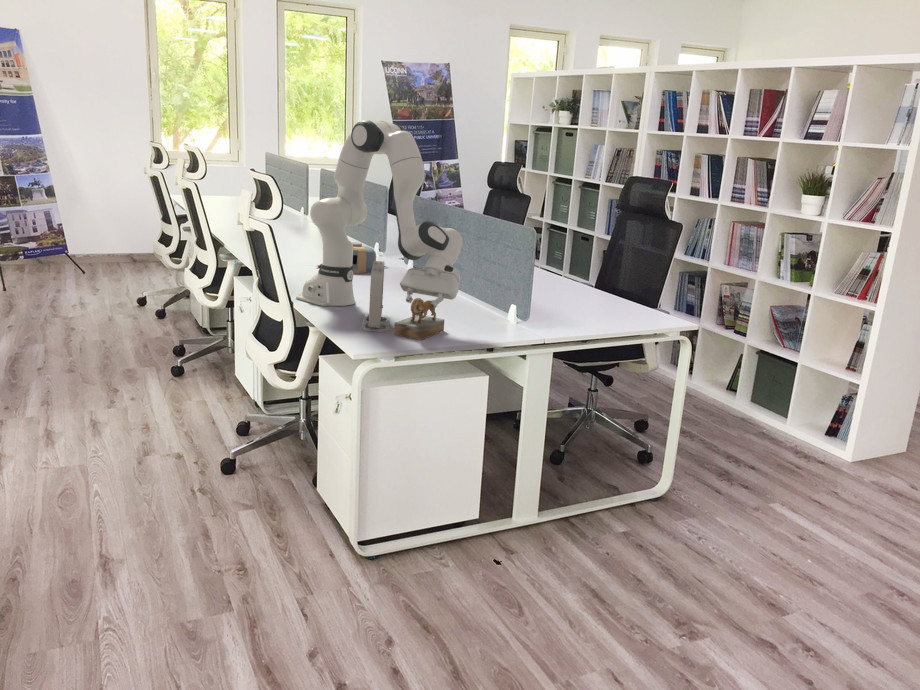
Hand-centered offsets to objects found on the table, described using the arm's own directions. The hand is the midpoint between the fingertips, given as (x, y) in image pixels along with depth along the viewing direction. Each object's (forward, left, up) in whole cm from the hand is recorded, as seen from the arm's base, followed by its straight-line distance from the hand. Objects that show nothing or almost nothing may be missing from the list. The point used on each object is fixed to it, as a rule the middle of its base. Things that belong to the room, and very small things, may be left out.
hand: (420, 303), depth 263 cm
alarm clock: (-81, +82, -10) cm, 116 cm away
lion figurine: (+1, 0, -6) cm, 6 cm away
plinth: (0, +1, -10) cm, 10 cm away
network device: (-17, 0, -10) cm, 20 cm away
